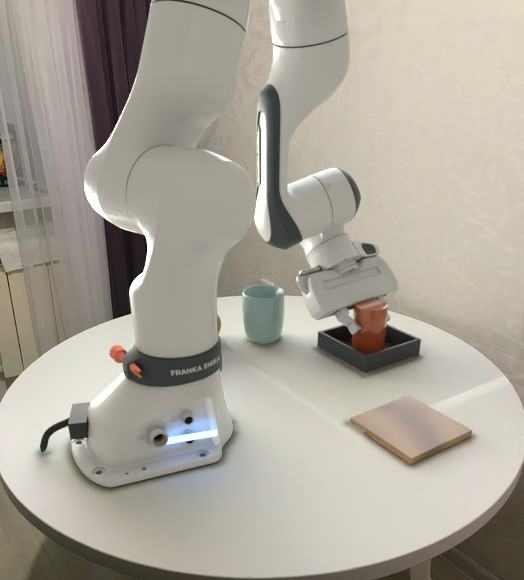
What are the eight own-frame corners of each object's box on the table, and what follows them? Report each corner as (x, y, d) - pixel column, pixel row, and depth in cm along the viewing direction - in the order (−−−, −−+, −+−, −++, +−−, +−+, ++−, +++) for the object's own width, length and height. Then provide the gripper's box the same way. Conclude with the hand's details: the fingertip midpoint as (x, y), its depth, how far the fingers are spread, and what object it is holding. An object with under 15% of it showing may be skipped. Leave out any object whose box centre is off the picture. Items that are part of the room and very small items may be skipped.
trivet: (410, 464, 77) (411, 458, 76) (349, 423, 86) (350, 418, 86) (471, 436, 83) (472, 430, 82) (408, 400, 92) (409, 395, 91)
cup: (236, 345, 111) (235, 295, 107) (253, 330, 118) (252, 282, 114) (275, 351, 109) (275, 300, 104) (289, 335, 115) (290, 287, 111)
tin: (364, 376, 99) (366, 357, 98) (317, 349, 109) (317, 331, 108) (419, 357, 106) (421, 339, 104) (369, 333, 116) (370, 316, 114)
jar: (366, 360, 104) (369, 312, 100) (344, 348, 108) (346, 302, 104) (391, 352, 107) (395, 305, 103) (368, 340, 111) (371, 295, 107)
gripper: (301, 263, 99) (340, 334, 97) (382, 243, 111) (419, 305, 108) (284, 282, 104) (320, 349, 102) (363, 260, 116) (398, 321, 113)
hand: (372, 327), depth 105 cm, fingers closed on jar, 6 cm apart
